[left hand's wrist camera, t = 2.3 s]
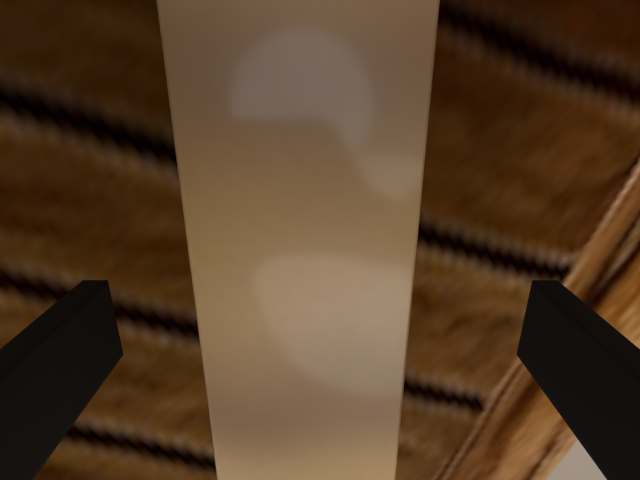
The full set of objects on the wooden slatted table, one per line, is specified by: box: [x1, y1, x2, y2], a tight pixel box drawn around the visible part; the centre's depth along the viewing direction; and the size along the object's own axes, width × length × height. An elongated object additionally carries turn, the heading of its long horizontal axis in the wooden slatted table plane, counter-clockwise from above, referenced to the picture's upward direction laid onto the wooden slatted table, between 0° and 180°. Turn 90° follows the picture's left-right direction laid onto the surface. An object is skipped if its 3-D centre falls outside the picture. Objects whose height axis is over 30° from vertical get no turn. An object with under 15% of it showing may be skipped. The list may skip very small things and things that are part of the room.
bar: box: [156, 0, 440, 480], centre depth 12 cm, size 23×5×9 cm, turn 0°
